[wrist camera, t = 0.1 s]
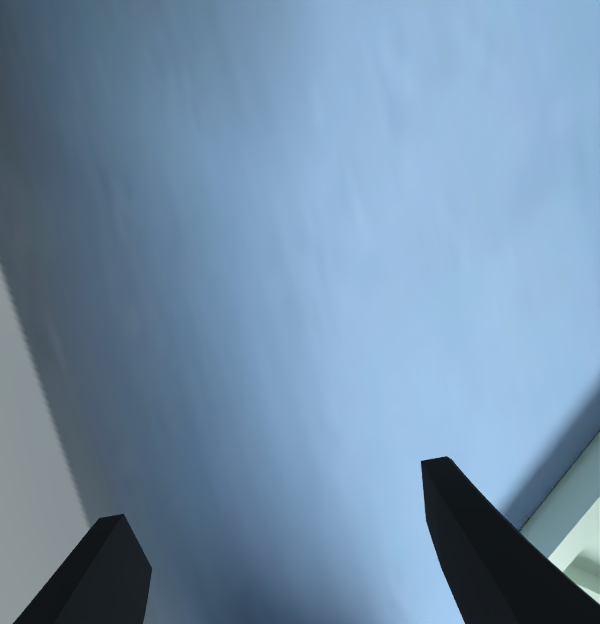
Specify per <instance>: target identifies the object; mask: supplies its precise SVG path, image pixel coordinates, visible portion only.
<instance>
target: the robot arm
mask: <svg viewBox="0 0 600 624" xmlns="http://www.w3.org/2000/svg"><path fill="white" fill-rule="evenodd" d="M421 468H422V479H423V490H424V502H425V513H426V522H427V525H428V528H429V531H430V535H431V538H432V541H433V544H434V547H435V550H436V553H437V556H438V559H439V562H440V565H441V568H442V571H443V573H444V575H445V578H446V580H447V582H448V585H449V587H450V589H451V592H452V594H453V596H454V599H455V601H456V603H457V606H458V608H459V610H460V613H461V615H462V617H463V620H464V622H465V624H600V604H599V603H598V602H597V601H595V600H594V599H593V598H592V597H591V596H589V595H588V594H587V593H586V592H585V591H584V590H582V589H581V588H580V587H579V586H578V585H577V584H575V583H574V582H573V581H572V580H571V579H570V578H569V577H567V576H566V575H565V574H564V573H563V572H562V571H561V570H560V569H559V568H557V567H556V566H555V565H554V564H553V563H552V562H551V561H550V560H549V559H547V558H546V557H545V556H544V555H543V554H542V553H541V552H540V551H539V550H538V549H537V548H536V547H534V546H533V545H532V544H531V543H530V542H529V541H528V540H527V539H526V538H525V537H524V536H523V535H522V534H521V533H520V532H519V531H518V530H517V529H516V528H515V527H514V526H513V525H512V524H511V523H510V522H509V521H508V520H507V519H506V518H505V517H504V516H503V515H502V514H501V513H500V512H499V511H498V510H497V509H496V508H495V507H494V506H493V505H492V504H491V503H490V502H489V501H488V500H487V499H486V498H485V497H484V496H483V494H482V493H481V492H480V491H479V490H478V489H477V488H476V487H475V486H474V485H473V484H472V483H471V481H470V480H469V479H468V478H467V477H466V476H465V475H464V473H463V472H462V471H461V470H460V469H459V468H458V467H457V465H456V464H455V463H454V462H453V460H452V459H450V458H449V457H447V456H446V457H440V458H435V459H429V460H424V461H421ZM151 573H152V567H151V565H150V564H149V562H148V560H147V558H146V556H145V554H144V552H143V550H142V548H141V546H140V544H139V542H138V540H137V539H136V537H135V535H134V533H133V531H132V529H131V527H130V525H129V523H128V521H127V519H126V517H125V515H124V514H120V515H114V516H109V517H103V518H99V519H98V520H97V522H96V523H95V524H94V525H93V526H92V527H91V529H90V530H89V531H88V532H87V534H86V535H85V536H84V537H83V538H82V540H81V541H80V542H79V543H78V545H77V546H76V547H75V549H74V550H73V551H72V552H71V553H70V555H69V556H68V557H67V558H66V560H65V561H64V562H63V564H62V565H61V566H60V567H59V568H58V569H57V571H56V572H55V573H54V574H53V576H52V577H51V578H50V579H49V581H48V582H47V583H46V584H45V585H44V587H43V588H42V589H41V590H40V592H39V593H38V594H37V595H36V596H35V598H34V599H33V600H32V602H31V603H30V604H29V605H28V606H27V607H26V609H25V610H24V611H23V612H22V614H21V615H20V616H19V617H18V618H17V620H16V621H15V622H14V623H13V624H143V620H144V616H145V610H146V604H147V599H148V593H149V586H150V579H151Z"/></svg>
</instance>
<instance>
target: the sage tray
mask: <svg viewBox="0 0 600 624" xmlns="http://www.w3.org/2000/svg"><path fill="white" fill-rule="evenodd" d="M519 532H520V533H521V534H522V535H523V536H524V537H525V538H526V539H527V540H528V541H529V542H530V543H531V544H532V545H533V546H534V547H536V548H537V549H538V550H539V551H540V552H541V553H542V554H543V555H544V556H545V557H546V558H547V559H549V560H550V561H551V562H552V563H553V564H554V565H555V566H556V567H557V568H559V569H560V570H561V571H562V572H563V573H564V574H565V575H566V576H567V577H569V578H570V579H571V580H572V581H573V582H574V583H575V584H577V585H578V586H579V587H580V588H581V589H582V590H584V591H585V592H586V593H587V594H588V595H589V596H591V597H592V598H593V599H594V600H595V601H597V602H598V603H599V604H600V431H599V433H598V434H597V435H596V436H595V438H594V439H593V440H592V441H591V443H590V444H589V445H588V446H587V448H586V449H585V450H584V451H583V453H582V454H581V455H580V456H579V458H578V459H577V460H576V461H575V463H574V464H573V465H572V466H571V468H570V469H569V470H568V471H567V473H566V474H565V475H564V476H563V478H562V479H561V480H560V481H559V483H558V484H557V485H556V486H555V488H554V489H553V490H552V491H551V493H550V494H549V495H548V496H547V498H546V499H545V500H544V501H543V503H542V504H541V505H540V506H539V508H538V509H537V510H536V511H535V513H534V514H533V515H532V516H531V518H530V519H529V520H528V521H527V523H526V524H525V525H524V526H523V528H522V529H521V530H520V531H519Z"/></svg>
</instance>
